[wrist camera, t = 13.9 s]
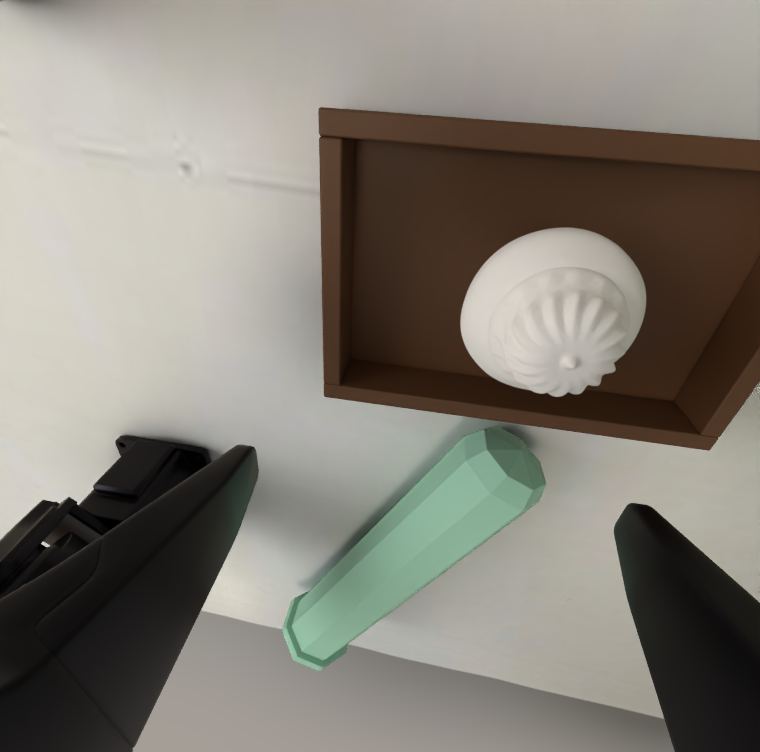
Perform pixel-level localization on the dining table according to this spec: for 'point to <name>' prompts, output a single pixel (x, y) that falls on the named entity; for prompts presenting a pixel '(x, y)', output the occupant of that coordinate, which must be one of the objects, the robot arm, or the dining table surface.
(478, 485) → the container
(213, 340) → the dining table surface
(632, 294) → the white rounded ribbed piece
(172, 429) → the dining table surface
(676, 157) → the tray
